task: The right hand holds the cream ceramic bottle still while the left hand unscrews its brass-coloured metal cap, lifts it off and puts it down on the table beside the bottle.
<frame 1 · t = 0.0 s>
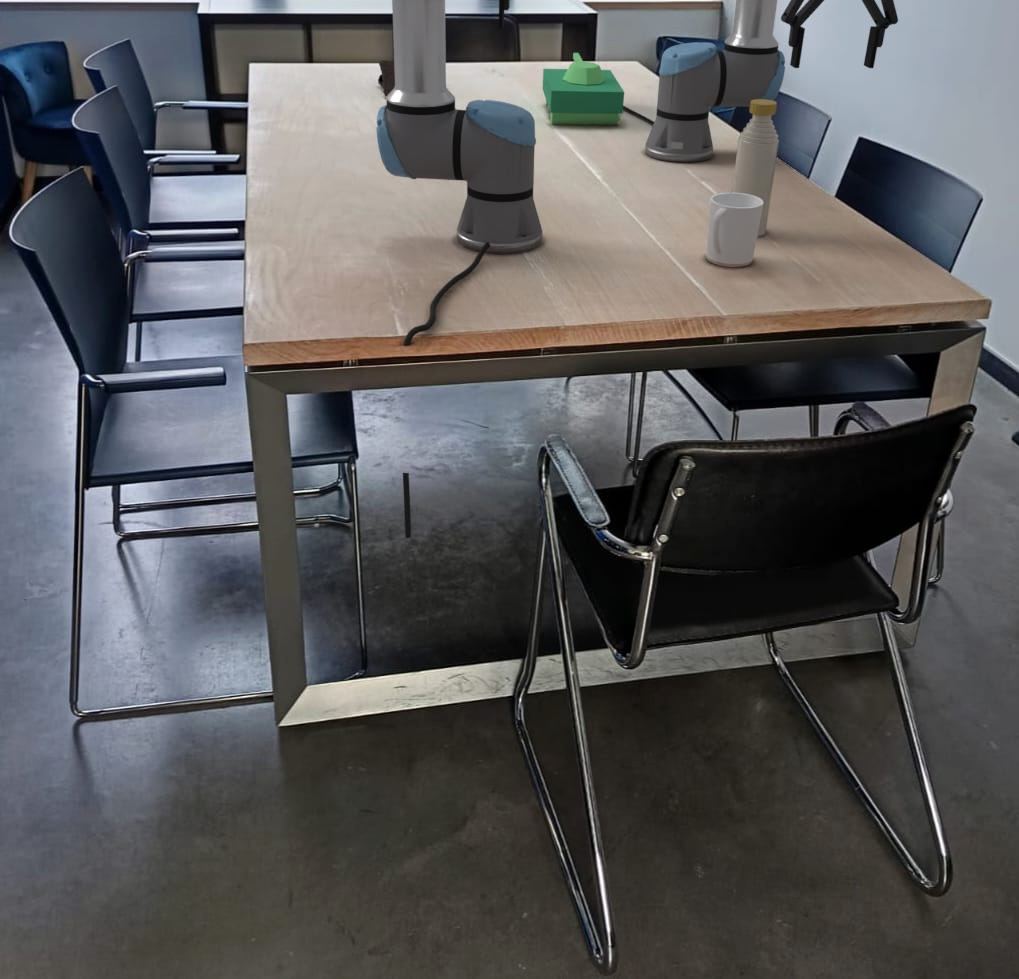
left hand: (468, 26, 224), 28 cm above the table, tool pointing down, fingers open, 13 cm apart
right hand: (831, 66, 194), 28 cm above the table, tool pointing down, fingers open, 13 cm apart
cap: (763, 103, 191), point 23 cm above the table, screwed on, not yet turned
mug: (725, 261, 189), on the table
axe head: (403, 91, 300), on the table
toy tank: (578, 112, 283), on the table
bottle: (746, 231, 203), on the table
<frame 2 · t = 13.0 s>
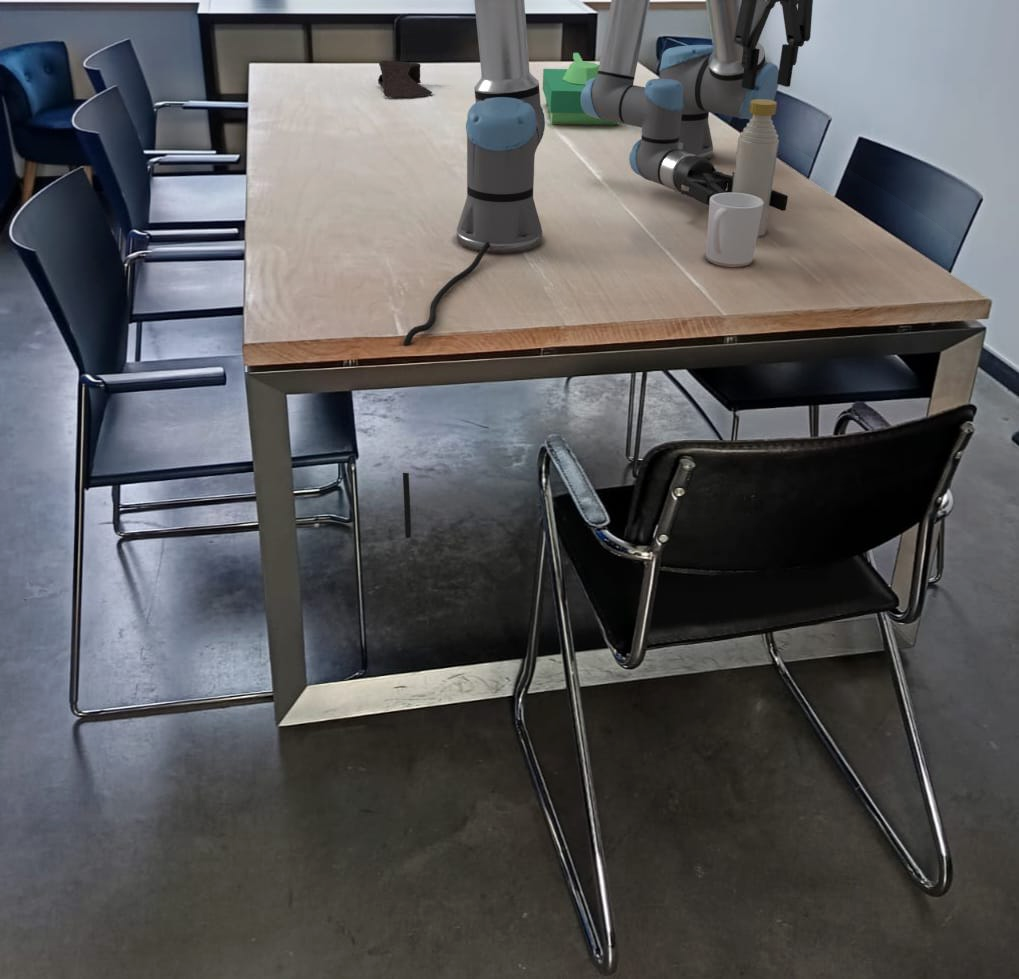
left hand: (765, 86, 190), 26 cm above the table, tool pointing down, fingers open, 7 cm apart
right hand: (768, 206, 197), 6 cm above the table, tool horizontal, fingers closed on bottle, 7 cm apart
bottle: (746, 231, 203), on the table, touching right hand
everything else where it was.
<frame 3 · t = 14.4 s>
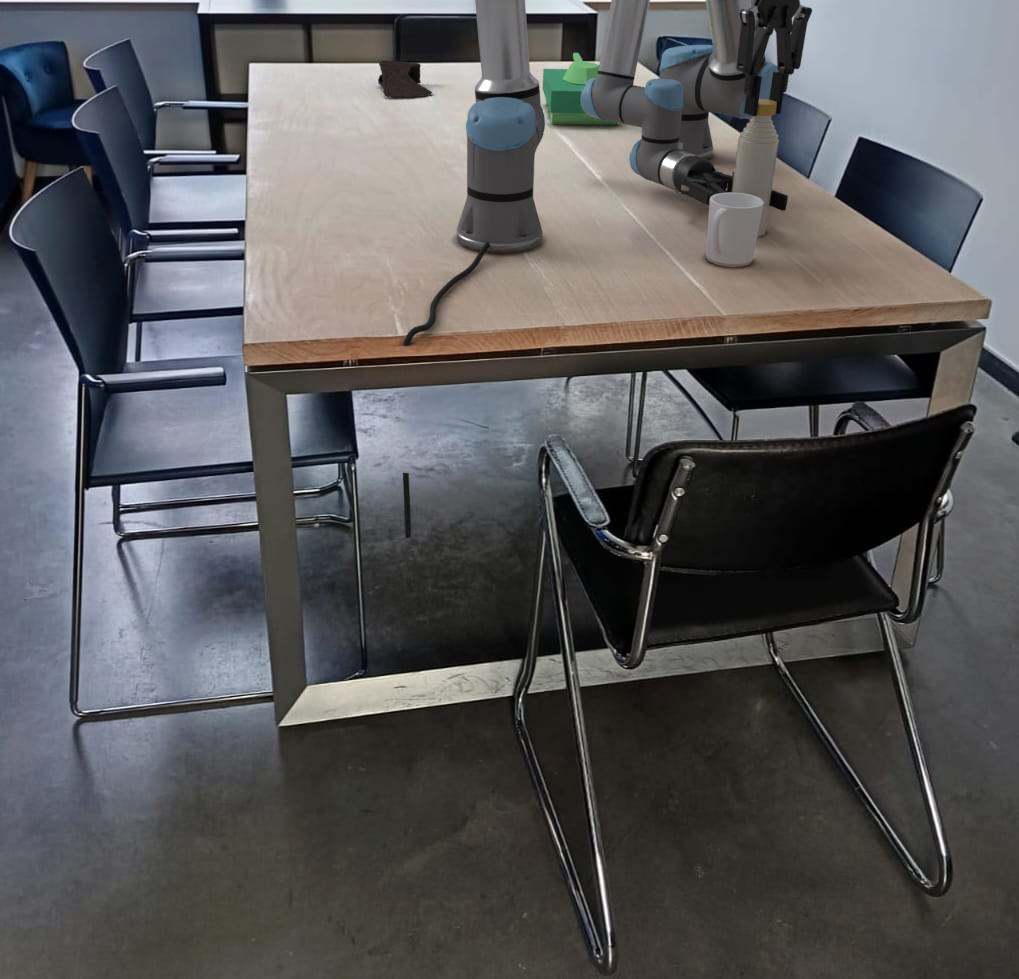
left hand: (762, 112, 192), 21 cm above the table, tool pointing down, fingers closed on cap, 4 cm apart
right hand: (768, 206, 197), 6 cm above the table, tool horizontal, fingers closed on bottle, 7 cm apart
cap: (763, 103, 191), point 23 cm above the table, screwed on, not yet turned, touching left hand
bottle: (746, 231, 203), on the table, touching right hand
everything else where it was.
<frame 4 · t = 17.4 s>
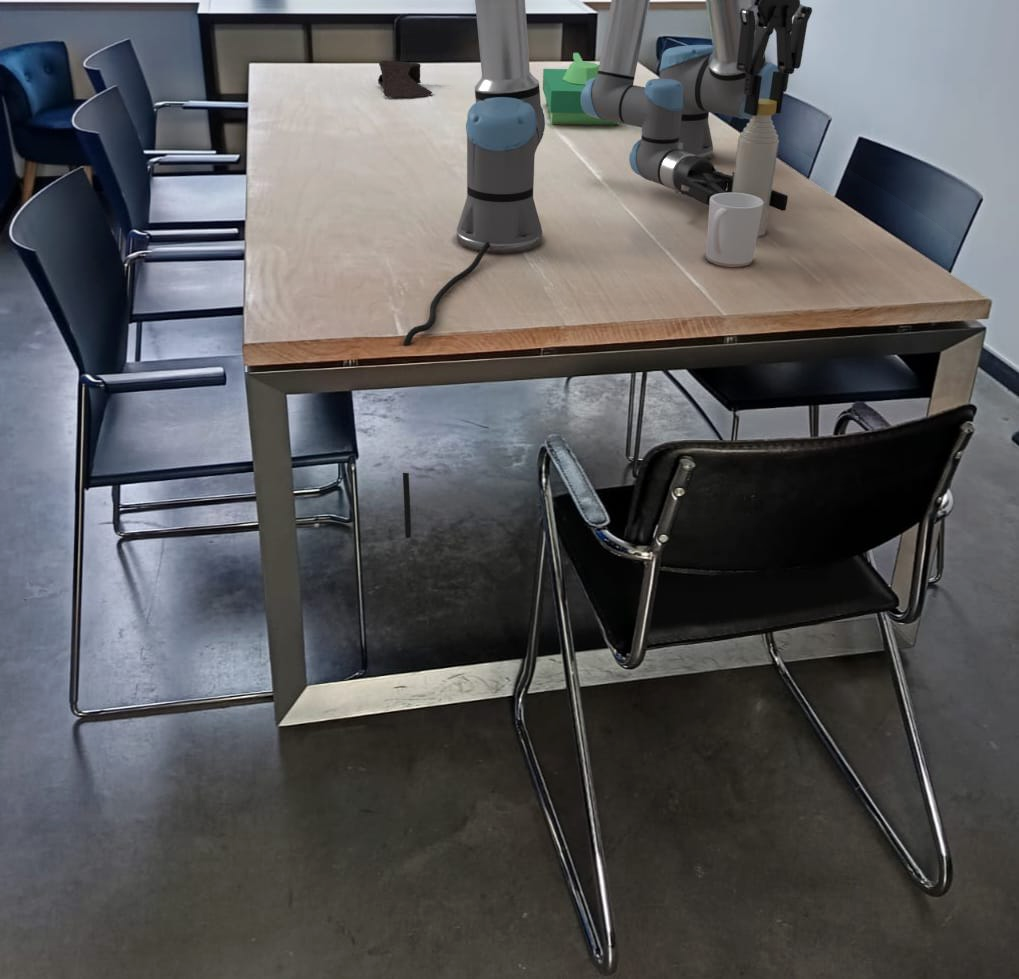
left hand: (762, 112, 192), 21 cm above the table, tool pointing down, fingers closed on cap, 4 cm apart
right hand: (768, 206, 197), 6 cm above the table, tool horizontal, fingers closed on bottle, 7 cm apart
cap: (763, 103, 191), point 23 cm above the table, turned 80° so far, risen 0.1 cm, still on its thread, touching left hand
bottle: (746, 231, 203), on the table, touching right hand
everything else where it was.
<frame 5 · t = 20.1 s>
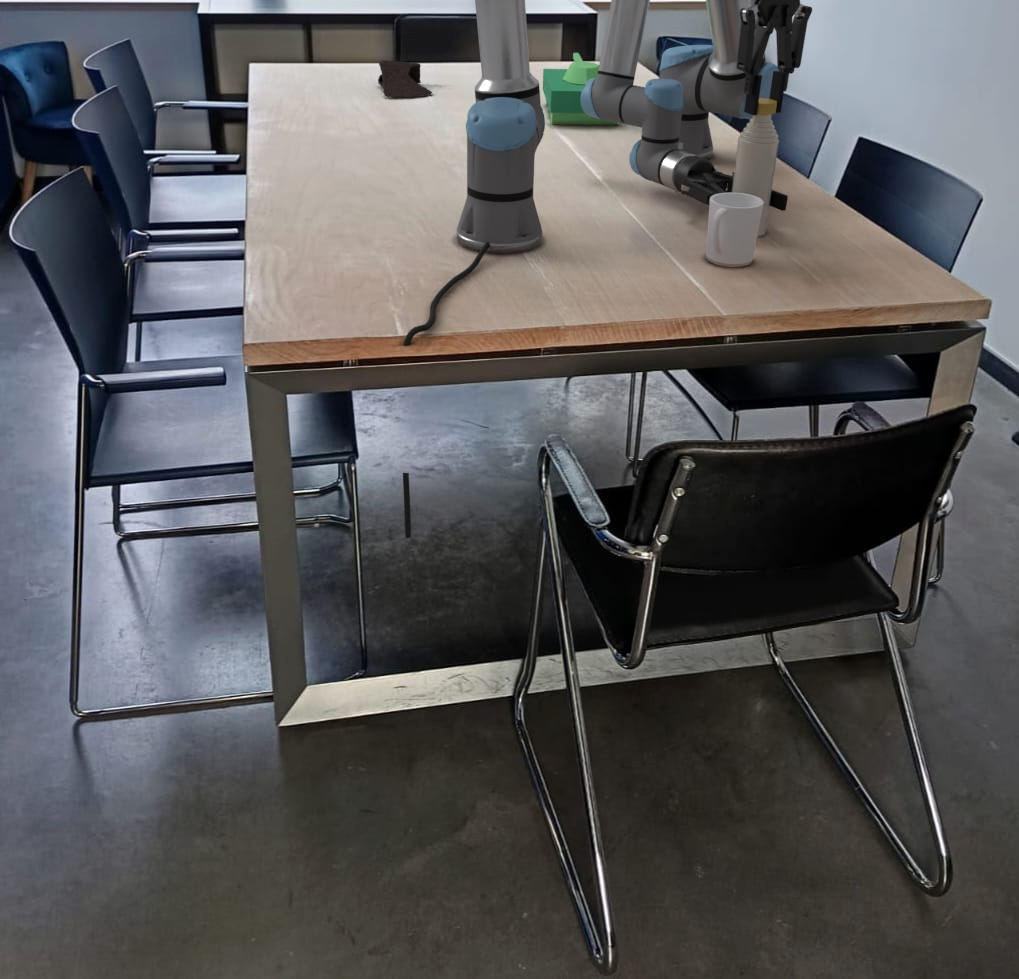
left hand: (762, 112, 192), 21 cm above the table, tool pointing down, fingers closed on cap, 4 cm apart
right hand: (768, 206, 197), 6 cm above the table, tool horizontal, fingers closed on bottle, 7 cm apart
cap: (763, 102, 191), point 23 cm above the table, turned 160° so far, risen 0.2 cm, still on its thread, touching left hand
bottle: (746, 231, 203), on the table, touching right hand
everything else where it was.
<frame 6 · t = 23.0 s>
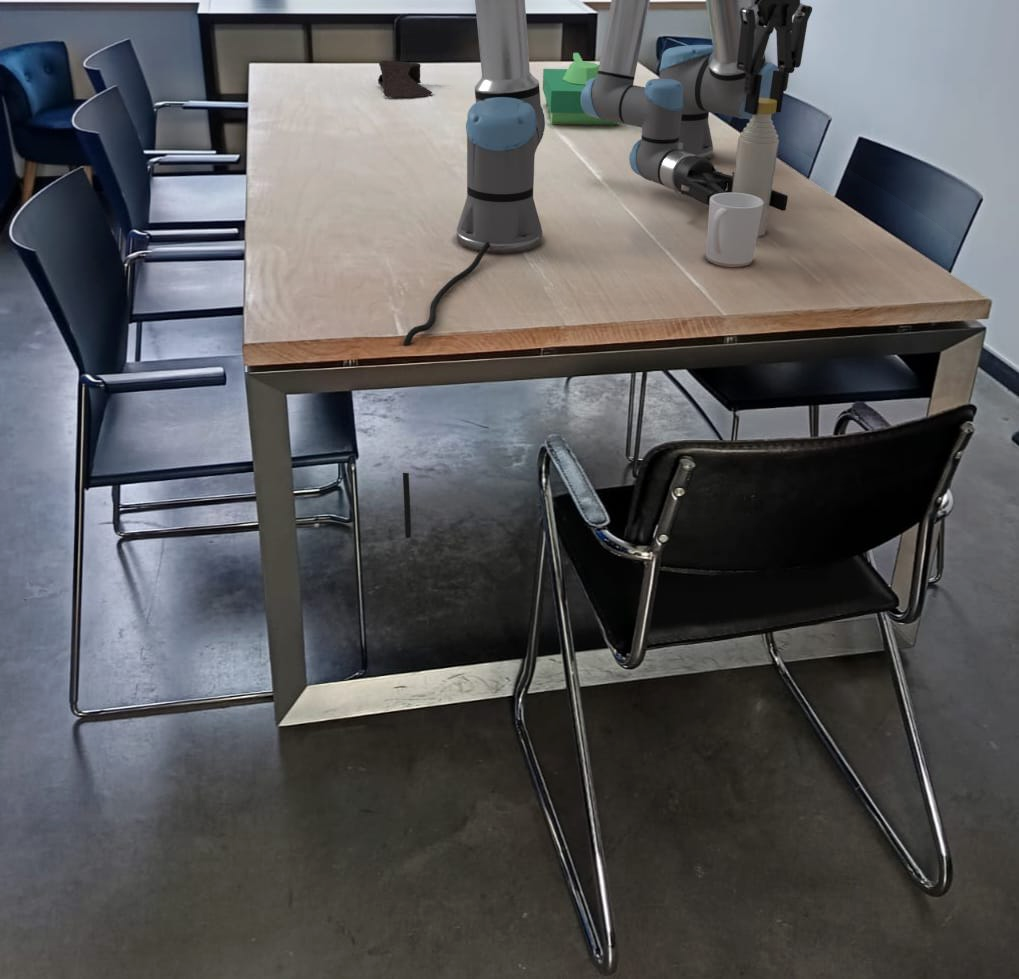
left hand: (762, 111, 192), 22 cm above the table, tool pointing down, fingers closed on cap, 4 cm apart
right hand: (768, 206, 197), 6 cm above the table, tool horizontal, fingers closed on bottle, 7 cm apart
cap: (763, 102, 191), point 23 cm above the table, turned 241° so far, risen 0.2 cm, still on its thread, touching left hand
bottle: (746, 231, 203), on the table, touching right hand
everything else where it was.
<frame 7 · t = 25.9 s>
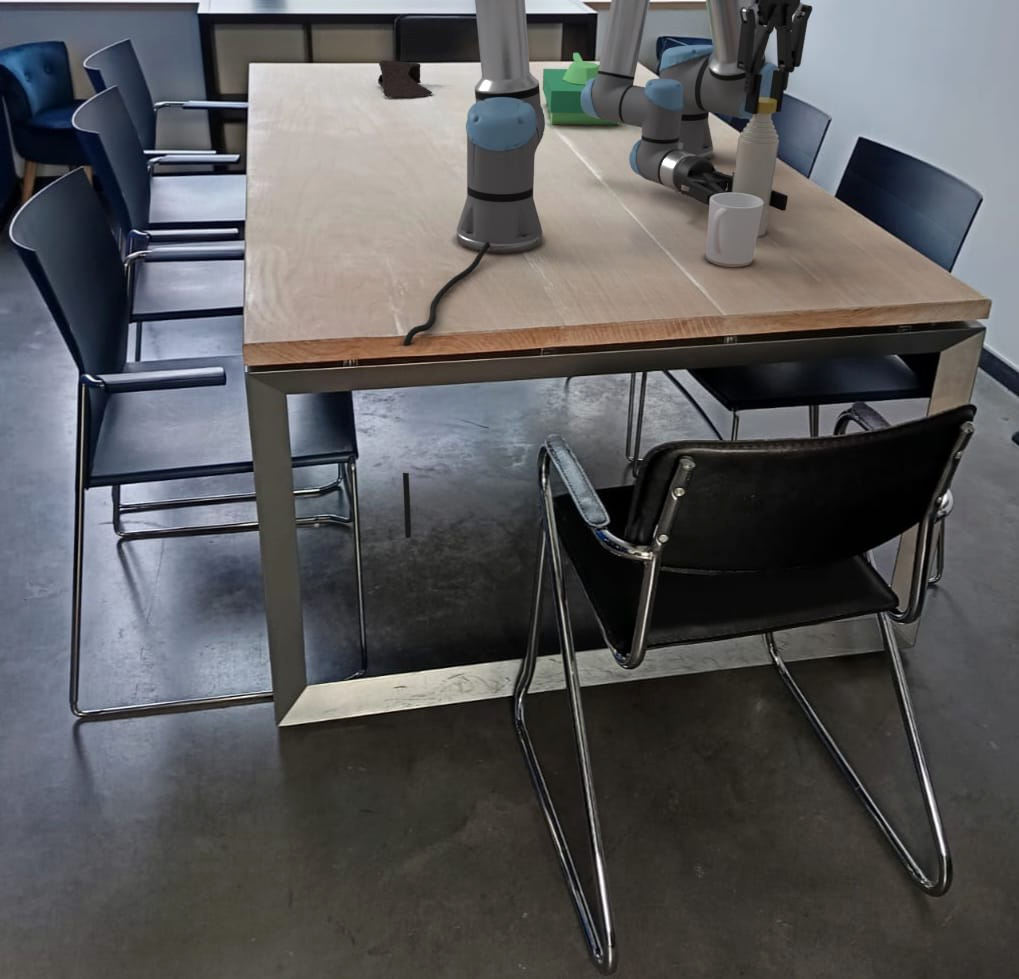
left hand: (762, 111, 192), 22 cm above the table, tool pointing down, fingers closed on cap, 4 cm apart
right hand: (768, 206, 197), 6 cm above the table, tool horizontal, fingers closed on bottle, 7 cm apart
cap: (763, 101, 191), point 23 cm above the table, turned 321° so far, risen 0.3 cm, still on its thread, touching left hand
bottle: (746, 231, 203), on the table, touching right hand
everything else where it was.
when the left hand's fingers open (2 cm above the table, at t = 35.6 s): cap drops 2 cm, point 2 cm above the table.
when the right hand's fingers open (6 cm above the table, at t = 36.8 s): bottle stays where it is, on the table.
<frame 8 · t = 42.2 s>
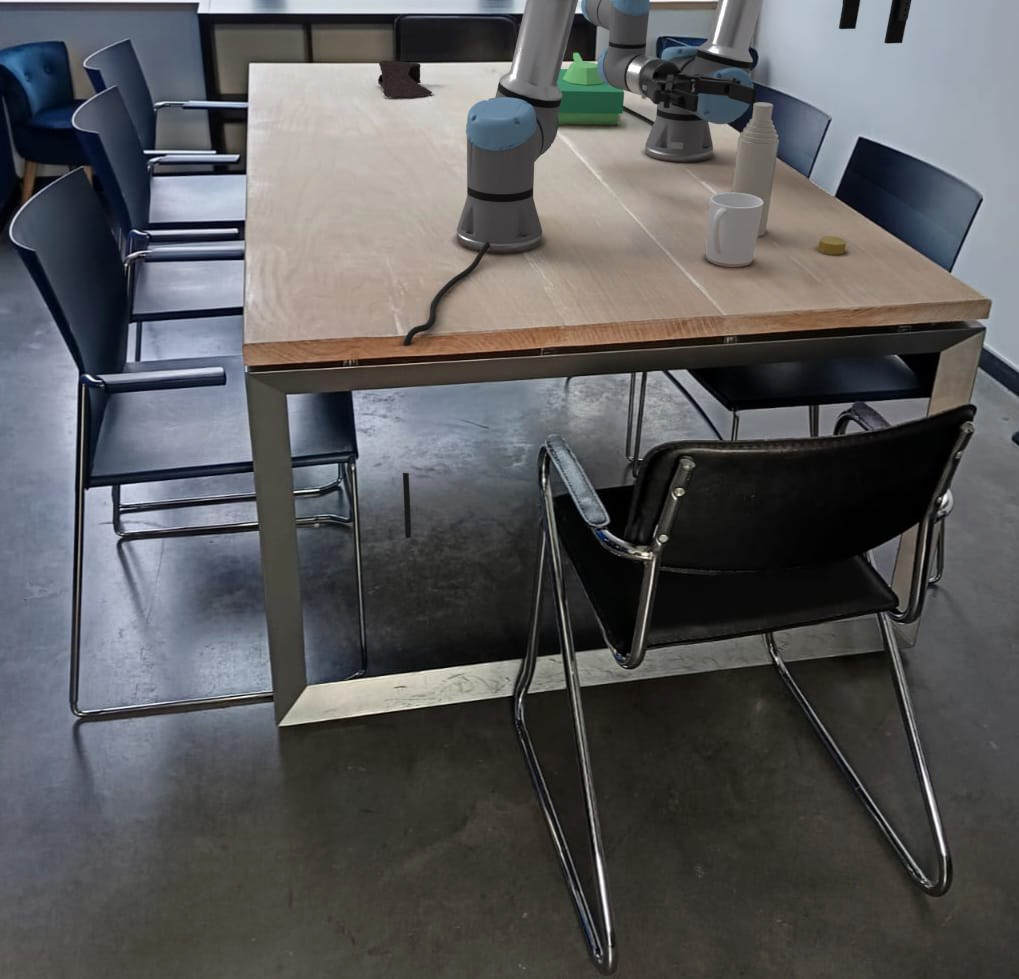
left hand: (869, 35, 176), 36 cm above the table, tool pointing down, fingers open, 13 cm apart
right hand: (725, 100, 199), 21 cm above the table, tool horizontal, fingers open, 13 cm apart
cap: (832, 242, 194), point 2 cm above the table, off its thread
bottle: (746, 231, 203), on the table
everything else where it was.
at the end: cap came off its thread; cap point 1.6 cm above the table; the left hand is holding nothing; the right hand is holding nothing; bottle tilted 0°; bottle moved 0.0 cm from its start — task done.
